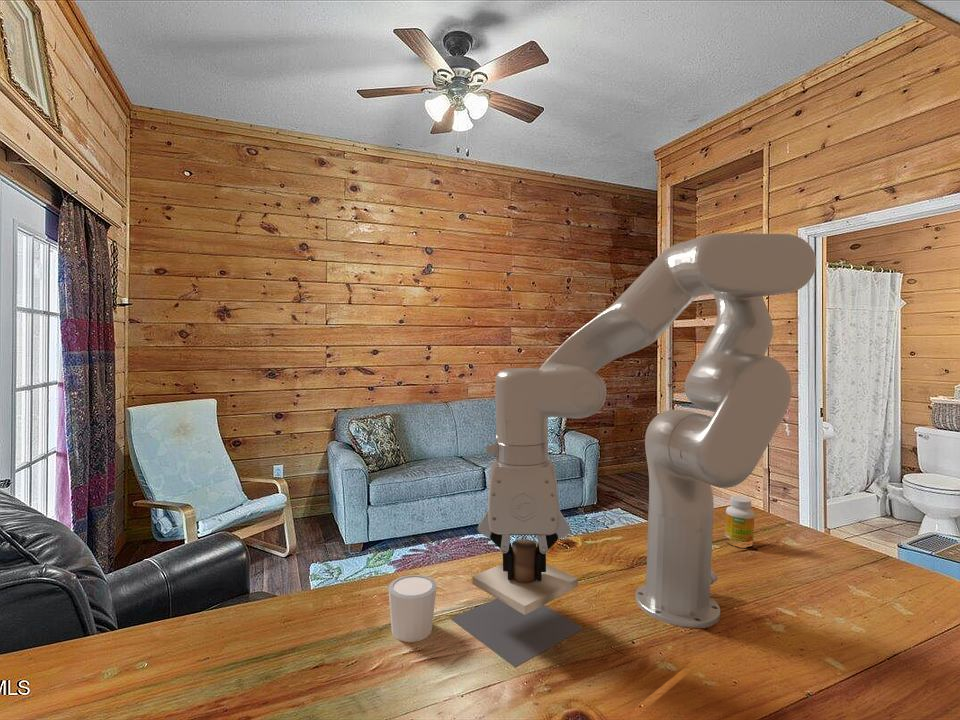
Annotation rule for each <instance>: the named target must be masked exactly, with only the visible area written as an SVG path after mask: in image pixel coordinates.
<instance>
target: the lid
mask: <svg viewBox="0 0 960 720" xmlns="http://www.w3.org/2000/svg"><path fill="white" fill-rule="evenodd" d="M511 547H512V559H513V579H511V580H508V571H503V563H501V564H498V565H495V566H494V567H491V568H489V569H486V570H484V571H482V572H480V573H476V574H475V575H472V576H471V579H472V580H471V581H472V582H471V583H472V585H473V586H475V587H476V588H478V589H480V590H482V591H483V592H485V593H487V594H488V595H490V596H492V597H493V598H495V599H499V600H500V601H502V602H504V603H505V604H507V605H509V606H510V607H512V608H514V609H515V610H517V611H519V612H521V613H522V614H524V615H526V614H528V613H530V612H531V611H533V610H535V609H537V608H539V607H541V606H543V605H545V606H546V605H547V604H548V603H550V602H552V601H554V600H556V599H558V598H560V597H561V596H564V595H565V594H567V593H569V592H570V591H572V590H575V589H576V588H579V578H578V577H575V576H574V575H571V574H570V573H566V572H565V571H563V570H560V569H558V568H556V567H554V566H551V565H549V564H547V563H546V572H541V575H542V581H538V580H537V575H536V547H537V542H536V541H534V540H532V539H527V538H526V539H525V538H522V539H521V538H519V539H516V540H514V541H512V542H511Z"/></svg>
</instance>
